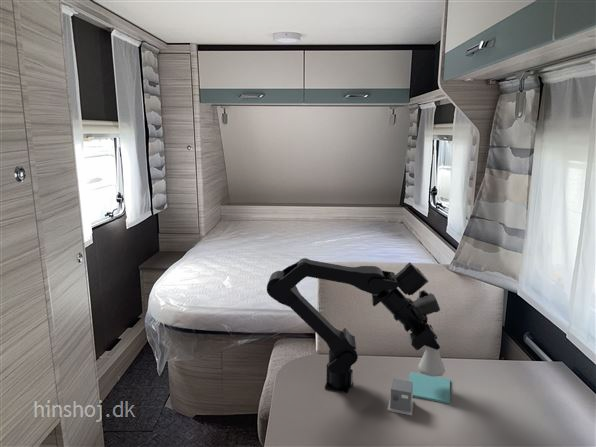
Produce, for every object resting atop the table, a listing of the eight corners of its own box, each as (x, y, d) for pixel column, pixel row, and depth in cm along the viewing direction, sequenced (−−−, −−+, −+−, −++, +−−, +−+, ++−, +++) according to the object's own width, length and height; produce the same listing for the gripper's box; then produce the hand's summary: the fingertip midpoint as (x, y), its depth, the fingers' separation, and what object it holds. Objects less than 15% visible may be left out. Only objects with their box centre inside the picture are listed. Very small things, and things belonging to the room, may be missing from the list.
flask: (445, 364, 123) (446, 331, 121) (445, 379, 117) (447, 345, 114) (418, 361, 125) (419, 328, 123) (416, 375, 119) (418, 341, 116)
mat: (406, 395, 119) (406, 393, 119) (409, 374, 129) (410, 372, 129) (449, 403, 116) (449, 401, 116) (449, 380, 126) (449, 379, 126)
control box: (387, 410, 113) (388, 389, 112) (390, 397, 119) (391, 377, 117) (411, 415, 111) (413, 394, 110) (413, 401, 117) (415, 381, 115)
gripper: (429, 300, 107) (472, 344, 108) (415, 274, 125) (451, 312, 126) (394, 328, 109) (436, 371, 111) (385, 298, 127) (421, 336, 129)
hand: (437, 345), depth 119 cm, fingers closed on flask, 3 cm apart
